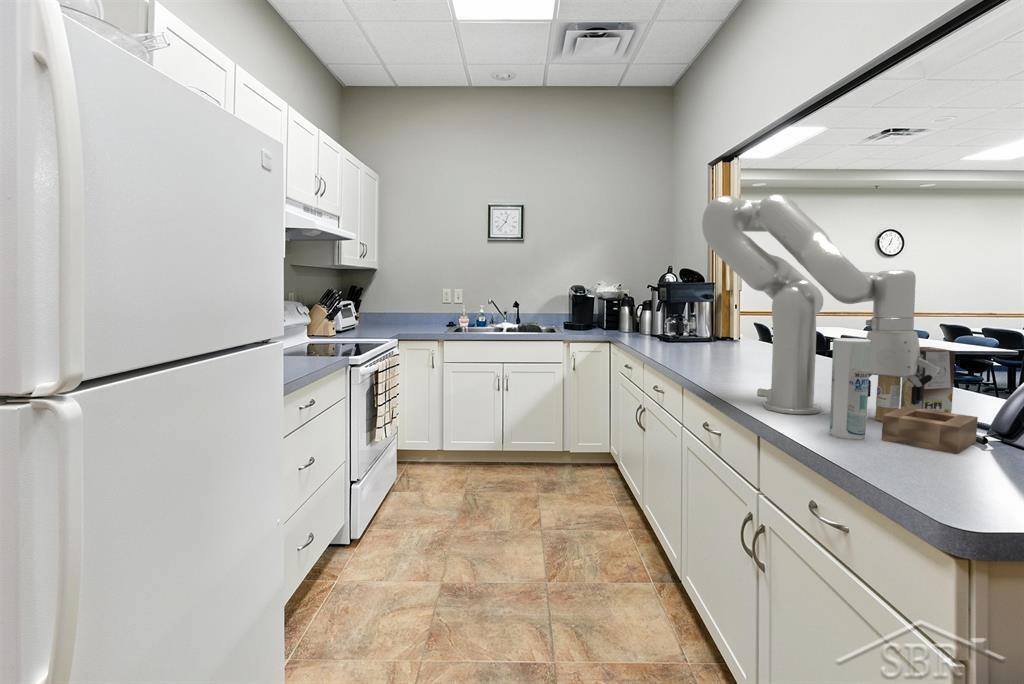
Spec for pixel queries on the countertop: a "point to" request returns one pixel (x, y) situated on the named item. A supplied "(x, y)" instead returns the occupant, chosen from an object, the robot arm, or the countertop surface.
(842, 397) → the spray can
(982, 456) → the countertop surface
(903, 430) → the bore block
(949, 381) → the coffee box
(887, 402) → the sprinkles bottle
